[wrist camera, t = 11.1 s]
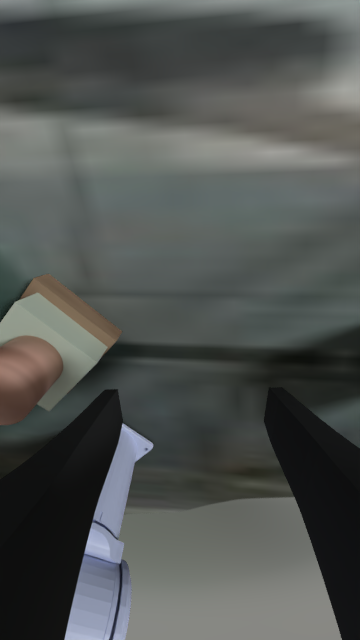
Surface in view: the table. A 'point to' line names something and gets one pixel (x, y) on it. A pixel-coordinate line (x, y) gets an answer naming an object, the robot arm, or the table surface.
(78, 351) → the sage top slab
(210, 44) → the table surface
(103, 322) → the walnut base slab
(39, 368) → the salmon pink cylinder
